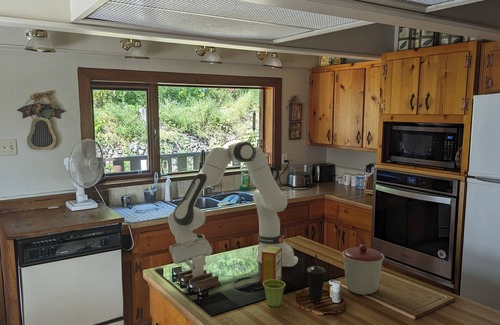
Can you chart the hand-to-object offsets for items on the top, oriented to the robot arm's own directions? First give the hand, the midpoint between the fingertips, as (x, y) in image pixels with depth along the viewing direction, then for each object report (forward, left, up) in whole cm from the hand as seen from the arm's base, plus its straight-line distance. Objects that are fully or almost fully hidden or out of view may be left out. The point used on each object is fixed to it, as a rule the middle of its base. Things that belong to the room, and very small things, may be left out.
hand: (198, 266), depth 192 cm
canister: (-72, -16, -9) cm, 75 cm away
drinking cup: (-54, +1, -9) cm, 55 cm away
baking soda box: (-31, -13, -9) cm, 35 cm away
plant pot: (-38, +9, -9) cm, 40 cm away
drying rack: (+1, 0, -8) cm, 8 cm away
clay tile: (+1, 0, -6) cm, 6 cm away
